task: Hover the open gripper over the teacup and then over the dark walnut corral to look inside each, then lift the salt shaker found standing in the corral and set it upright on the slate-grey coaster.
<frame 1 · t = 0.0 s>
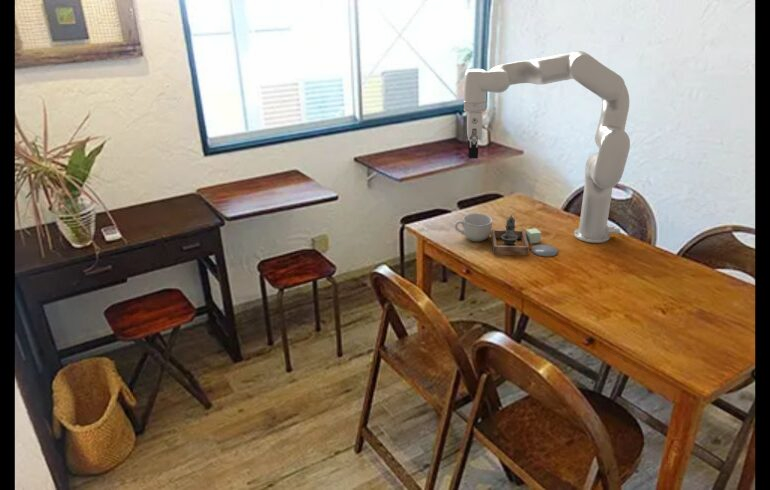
hand: (472, 154, 205), 31 cm above the table, fingers open, 9 cm apart
walnut corral: (509, 245, 208), on the table
teacup: (472, 238, 215), on the table
slate coaster: (544, 251, 203), on the table
sage block: (532, 240, 211), on the table
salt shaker: (509, 246, 208), resting in walnut corral
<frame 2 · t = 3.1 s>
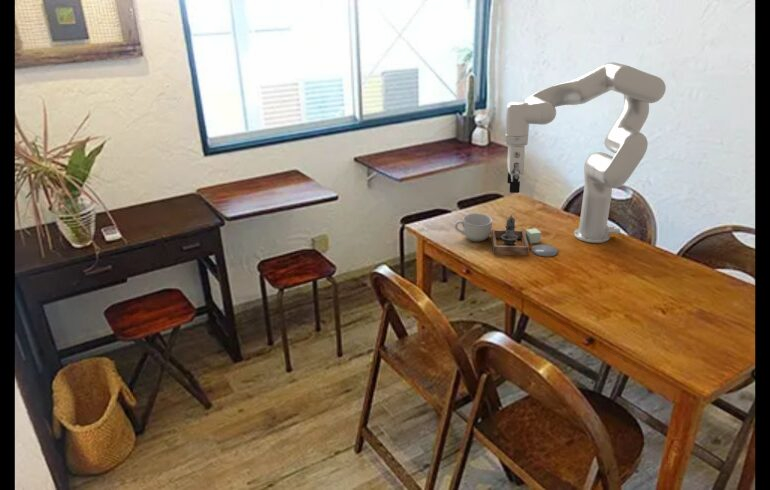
hand: (513, 187, 199), 22 cm above the table, fingers open, 9 cm apart
nothing on the table moved.
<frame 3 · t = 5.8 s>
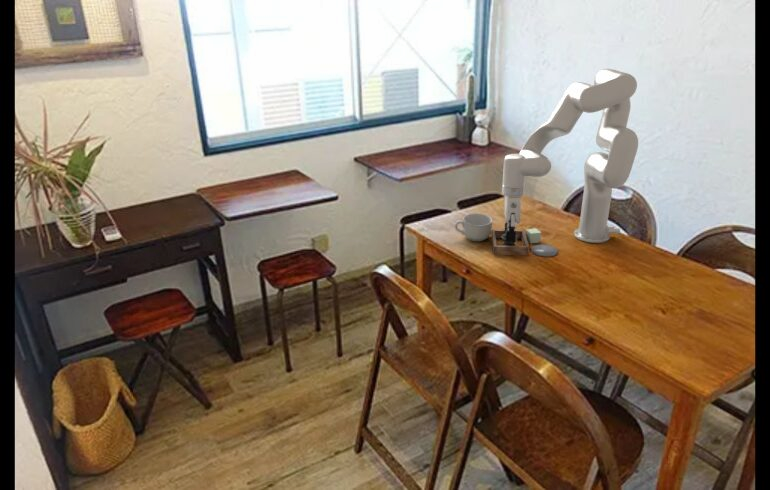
hand: (509, 236, 206), 4 cm above the table, fingers closed on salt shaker, 5 cm apart
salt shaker: (509, 246, 208), resting in walnut corral, touching gripper
everything else where it was.
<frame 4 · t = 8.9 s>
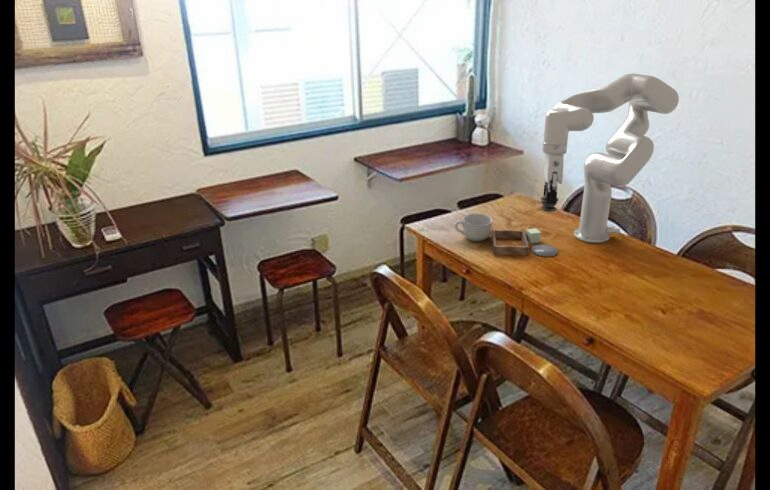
hand: (549, 199, 195), 20 cm above the table, fingers closed on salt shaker, 5 cm apart
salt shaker: (548, 209, 196), point 16 cm above the table, touching gripper
everything else where it was.
when the fingers open (5 cm above the table, at t = 11.9 s): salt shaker stays where it is, resting on slate coaster.
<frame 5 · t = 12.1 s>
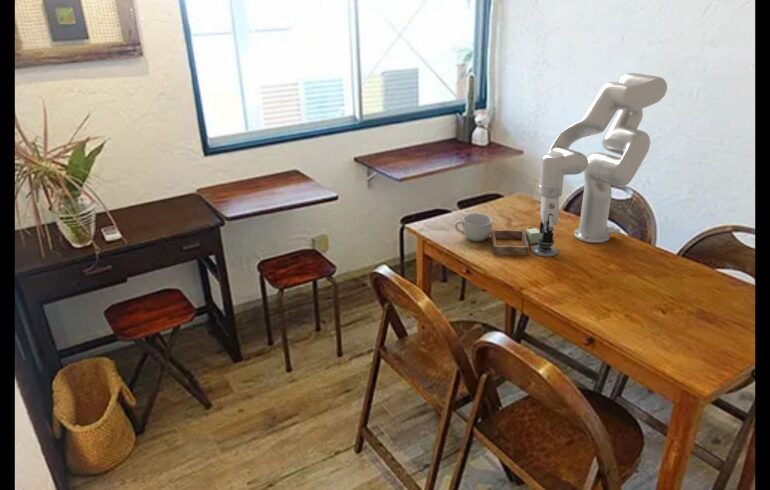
hand: (545, 237, 201), 5 cm above the table, fingers open, 7 cm apart
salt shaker: (544, 250, 203), resting on slate coaster
everything else where it was.
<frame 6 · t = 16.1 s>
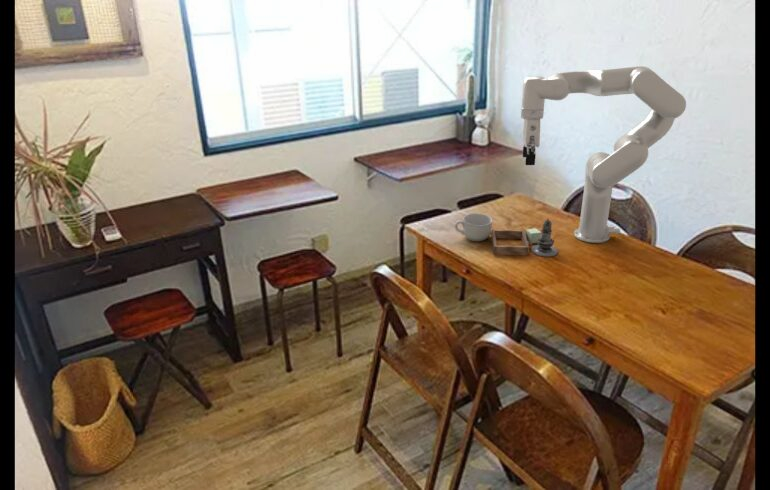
hand: (528, 160, 206), 28 cm above the table, fingers open, 9 cm apart
nothing on the table moved.
at the end: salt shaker inside the target area on the slate coaster (0.1 cm from its centre), point 0.4 cm above the slate coaster's base; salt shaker tilted 0°; the gripper is holding nothing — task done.
